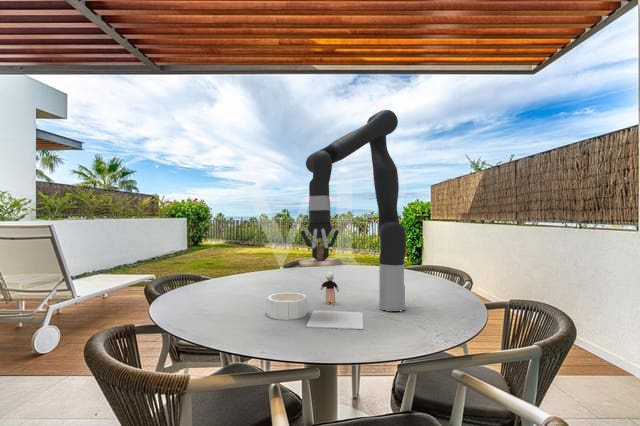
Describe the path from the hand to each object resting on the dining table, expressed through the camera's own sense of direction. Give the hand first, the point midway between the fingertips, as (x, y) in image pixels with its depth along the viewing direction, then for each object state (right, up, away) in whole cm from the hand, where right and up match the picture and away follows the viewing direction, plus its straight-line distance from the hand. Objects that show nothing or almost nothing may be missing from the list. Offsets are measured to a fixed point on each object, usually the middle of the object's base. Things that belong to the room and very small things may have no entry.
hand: (320, 258), depth 119 cm
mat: (+5, -21, -3) cm, 21 cm away
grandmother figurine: (+4, -21, +19) cm, 28 cm away
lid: (0, -2, 0) cm, 2 cm away
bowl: (-12, -20, +4) cm, 24 cm away
